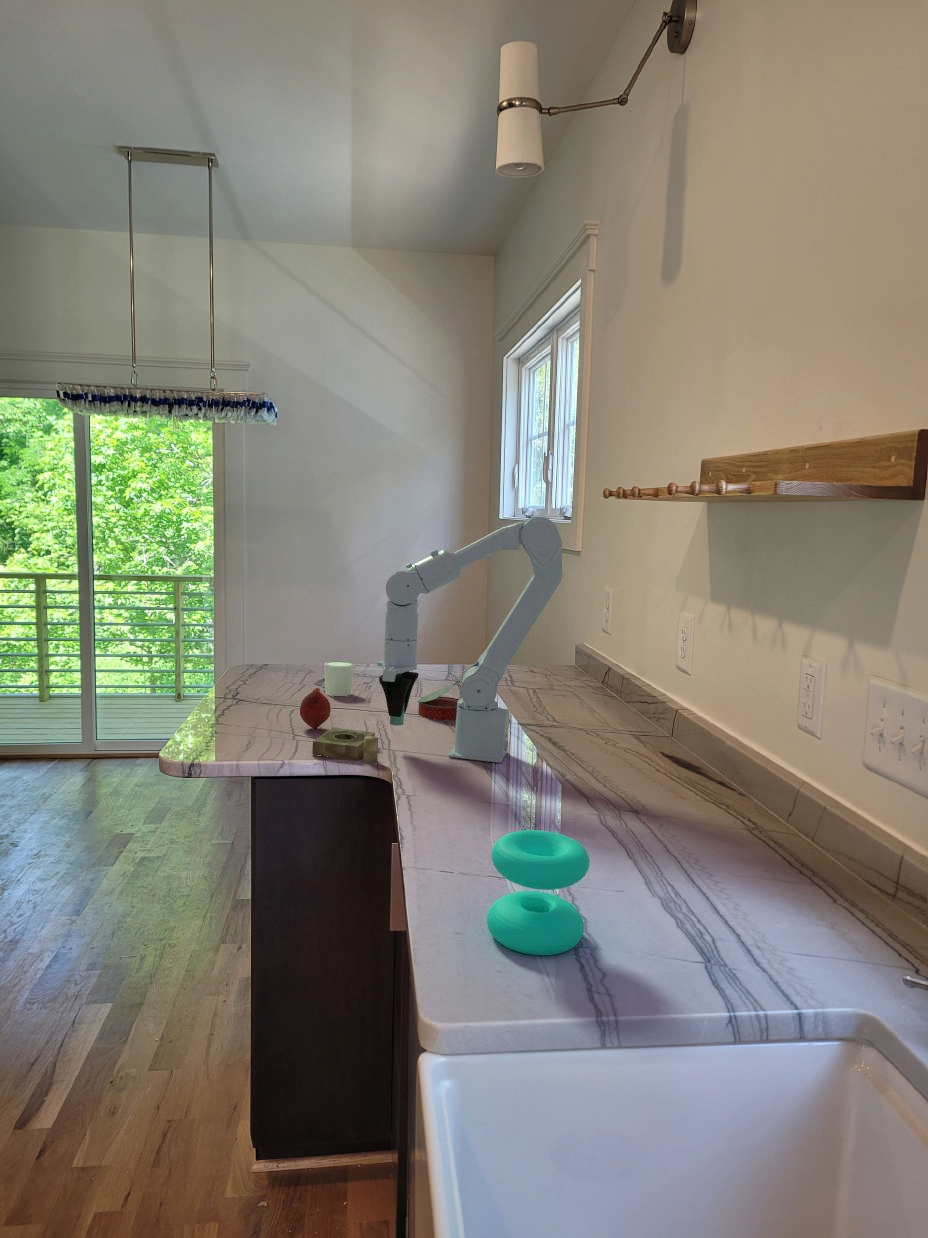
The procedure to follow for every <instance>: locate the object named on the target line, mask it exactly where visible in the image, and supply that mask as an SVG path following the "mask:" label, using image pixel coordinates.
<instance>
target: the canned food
mask: <svg viewBox="0 0 928 1238" xmlns="http://www.w3.org/2000/svg"><path fill="white" fill-rule="evenodd" d="M461 679H462V677H461V678H460V679H458V680H457V681H456V682H454V683H452V684H451V685H448V686H446V687H443V688H440V689H437V690H436V691H434V692H431V693H429V694H428V695H425V696H423V697H422V698H419V700H418V716H420V717H421V716H422V717H421V718H424V717H425V718H424V719H427V718H429V719H428V720H433V719H436V720H435V721H444V720H450V721H456V715H457V701H458V700H460V699H461V698H460V699H459V698H456V697H455V698H454V697H448V696H443V695H445V694H446V693H448V692H449V691H450V690H451V689H452V688H453V687H454V686H456V685H457V684H458V683H459V682H461Z"/></svg>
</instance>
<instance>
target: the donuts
mask: <svg viewBox="0 0 928 1238" xmlns="http://www.w3.org/2000/svg"><path fill="white" fill-rule="evenodd" d="M491 860H492V864H493V866H494V867H495V869H496V870H497V872H498V873H499V874H500V875H501V876H502V877H503V878H504V879H506V880H507V881H510V882H511V883H514V884H515V885H517V886H521V887H523V888H528V889H533V890H520V891H514V892H511V893H509V894H508V893H507V894H506V895H503V896H502V897H499V898H498V899H497V900H495V901H494V903H493V904H492V905H491V906H490V908H489V910H488V912H487V916H486V917H487V918H486V924H487V928H488V930H489V932H490V935H492V937H493V939H495V940H496V941H497V942H498V943H499V944H500V945H503V946H504V947H506V948H508V949H510V950H512V951H514V952H515V951H516V952H519V953H522V954H527V955H530V956H531V955H533V956H554V955H557V954H558V955H559V954H562V953H564V952H568V951H569V950H571V949H573V948H574V947H576V946H577V944H578V943H579V942H580V941H581V939H582V938H583V935H584V929H585V924H584V920H583V917H582V915H581V913H580V912H579V910H578V909H577V907H575V906H574V905H573V904H572V903H571V902H569V901H568V900H566V899H564V898H562V897H560V896H558V895H555V894H552V893H549V892H545V891H550V890H551V891H552V890H559V889H564V888H568V887H572V886H573V885H575V884H577V883H578V882H580V881H581V880H582V879H583V878H584V877H585V876H586V874H587V873H588V871H589V867H590V858H589V854H588V851H587V850H586V848H584V846H583V845H582V844H581V843H580V842H578V841H577V840H575V839H573V838H572V837H570V836H567V835H564V834H561V833H557V832H553V831H547V830H539V829H538V830H537V829H527V830H517V831H513V832H510V833H507V834H505V835H503V836H502V837H500V838H498V839H497V840H496V842H495V844H494V845H493V847H492V850H491ZM539 890H542V891H539ZM543 890H544V891H543Z"/></svg>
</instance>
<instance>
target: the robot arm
mask: <svg viewBox="0 0 928 1238" xmlns="http://www.w3.org/2000/svg"><path fill="white" fill-rule="evenodd" d="M520 545H522V547H523V549H524V551H525V552H526V553H527V555H528V557H529V562H530V566H531V570H532V576H531V577H530V579H529V581H528V583H527V584H526V586H525V587H524V589H523V591H522V592H521V594H520V595H519V597H517V600H516V602H515V603H514V604H513V606H512V608H511V609H510V611H509V612H508V614H507V615H506V617H505V618H504V620H503V622H502V623H501V625H500V627H499V629H498V630H497V632H496V633H495V635H494V636H493V638H492V640H491V641H490V642H489V644H488V646H487V647H486V649H485V650H484V651H483V653H481V655H480V656H479V658H478V659H477V661H476V662H474V664H472V665H470V666H468V667H467V668H466V669H465V670H464V671H463V673H462V675H461V678H462V679H461V678H460V679H461V680H460V682H461V685H460V689H459V691H460V692H459V693H460V696H461V698H460V700H458V701H457V715H456V720H455V732H454V733H455V734H454V746H453V748H451V750H450V752H449V753H448V757H450V758H454V759H455V758H456V759H465V760H472V761H473V760H474V761H480V762H481V761H483V762H491V763H498V764H499V763H502V762H503V761H504V758H505V756H506V755H507V754H508V747H509V731H510V730H509V728H510V727H509V726H510V710H509V709H508V708H502V707H499V705H498V702H497V701H495V700H496V698H497V693H498V686H499V684H500V681H501V680H502V678H503V677H504V675H505V672H506V670H507V667H508V665H509V664H510V662H511V661H512V659H513V657H514V656H515V654H516V652H517V651H518V649H519V648H520V646H521V645H522V643H523V642H524V640H525V639H526V637H527V636H528V634H529V632H530V631H531V629H532V628H533V626H534V624H535V623H536V621H537V619H538V618H539V616H540V615H541V613H542V612H543V610H544V608H545V607H546V606H547V604H548V603H549V601H550V599H551V598H552V596H553V594H554V593H555V592H556V590H557V589H558V587H559V585H560V584H561V581H562V579H563V540H562V537H561V535H560V532H559V530H558V527H557V526H556V524H555V523H554V522H553V520H551V519H549V518H547V517H542V516H531V517H529V518H527V519H526V520H524V522H523V521H519V522H515V523H512V524H509V525H505V526H502V527H500V528H499V529H497V530H494V531H492V532H491V533H489V534H487V535H485V536H483V537H481V538H479V539H478V540H476V541H473V542H472V543H470V544H468V545H466V546H464V547H462V548H460V549H458V550H456V551H450V550H447V549H442V550H440V551H439V550H438V549H434V550H432V551H430V552H429V554H430V556H428V557H425V558H424V559H421V560H420V561H417V562H415V563H413V564H412V562H410V563H407V564H406V565H405V568H406V570H404V569H402V570H398V571H396V572H395V573H394V574H392V575H391V576H389V578H388V579H387V580H386V584H385V593H386V596H387V601H386V609H387V610H386V612H385V625H384V647H383V651H384V652H383V660H378V661H377V662H376V666H377V667H381V668H382V674H381V675H380V676H379V677H378V681H379V684H380V686H381V688H382V690H383V692H384V693H383V694H384V696H385V702H386V706H387V712H388V716H389V717H390V716H395V717H401V715H402V712H403V707H404V714H406V712H407V709H408V705H409V701H410V697H411V694H412V691H413V687H414V685H415V684H416V681H417V679H418V678H419V675H420V673H418V672H415V670H417V669H418V663H417V649H418V629H419V628H418V627H419V612H418V598H419V596H420V594H424V595H428V594H430V593H432V592H433V591H437V590H438V589H440V588H442V587H444V586H446V585H448V584H451V583H453V582H455V581H457V580H458V579H459V578H460V574H461V572H462V569H463V568H466V567H468V566H471V565H472V564H474V563H477V562H479V561H482V560H484V559H485V558H488V557H490V556H492V555H494V554H496V553H499V552H501V551H503V550H505V551H521V546H520Z"/></svg>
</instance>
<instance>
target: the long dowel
mask: <svg viewBox="0 0 928 1238" xmlns="http://www.w3.org/2000/svg"><path fill="white" fill-rule="evenodd" d="M404 718H405V713H404V707H403V712H402V715H401V717H395V716H389V724H390V725H392V726H403V725H404Z"/></svg>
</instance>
